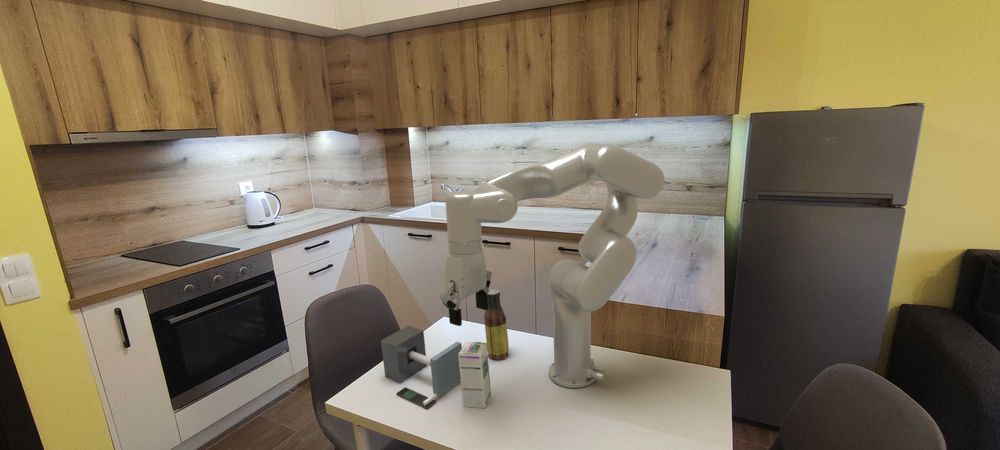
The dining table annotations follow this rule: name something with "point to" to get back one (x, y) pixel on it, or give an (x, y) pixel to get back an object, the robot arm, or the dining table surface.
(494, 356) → the sauce bottle
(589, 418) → the dining table surface
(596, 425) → the dining table surface
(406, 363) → the frame
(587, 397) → the dining table surface
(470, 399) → the syrup box
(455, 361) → the blue-grey plate with rod
